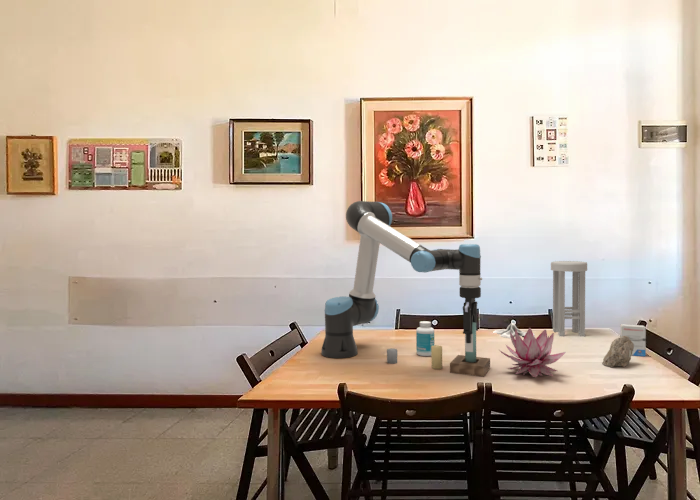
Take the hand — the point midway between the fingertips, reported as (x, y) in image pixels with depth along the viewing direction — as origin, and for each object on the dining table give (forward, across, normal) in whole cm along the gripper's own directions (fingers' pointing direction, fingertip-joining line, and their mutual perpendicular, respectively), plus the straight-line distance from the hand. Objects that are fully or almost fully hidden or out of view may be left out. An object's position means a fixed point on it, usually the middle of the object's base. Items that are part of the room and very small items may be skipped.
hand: (470, 349), depth 172 cm
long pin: (+4, 0, 0) cm, 4 cm away
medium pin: (+7, -2, +12) cm, 14 cm away
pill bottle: (+8, +14, +22) cm, 27 cm away
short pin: (+7, -2, +30) cm, 31 cm away
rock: (+8, +29, -49) cm, 57 cm away
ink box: (+8, +48, -55) cm, 73 cm away
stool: (+8, +78, -30) cm, 84 cm away
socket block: (+7, 0, 0) cm, 7 cm away
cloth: (+8, +68, -6) cm, 69 cm away
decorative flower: (+8, +5, -20) cm, 22 cm away
